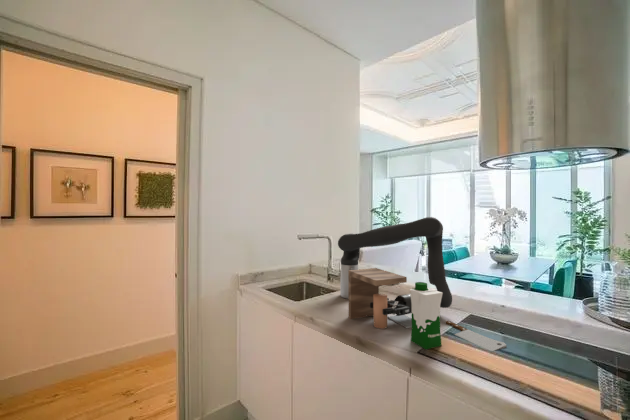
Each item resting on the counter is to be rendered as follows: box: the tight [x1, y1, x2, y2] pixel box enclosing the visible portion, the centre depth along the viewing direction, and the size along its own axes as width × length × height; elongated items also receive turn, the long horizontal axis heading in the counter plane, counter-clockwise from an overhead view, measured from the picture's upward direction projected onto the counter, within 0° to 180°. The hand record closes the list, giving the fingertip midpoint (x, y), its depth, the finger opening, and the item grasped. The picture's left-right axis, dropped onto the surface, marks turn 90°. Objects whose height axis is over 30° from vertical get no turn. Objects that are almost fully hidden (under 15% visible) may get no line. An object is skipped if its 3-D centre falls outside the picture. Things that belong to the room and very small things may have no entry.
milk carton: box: [408, 281, 443, 350], centre depth 100 cm, size 9×9×20 cm
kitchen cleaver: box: [445, 320, 507, 352], centre depth 107 cm, size 24×1×10 cm
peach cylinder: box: [372, 292, 389, 330], centre depth 116 cm, size 5×5×12 cm
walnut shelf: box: [348, 267, 408, 320], centre depth 118 cm, size 20×14×20 cm
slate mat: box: [387, 314, 412, 329], centre depth 120 cm, size 12×8×1 cm, turn 23°
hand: (376, 308), depth 115 cm, fingers open, 8 cm apart
